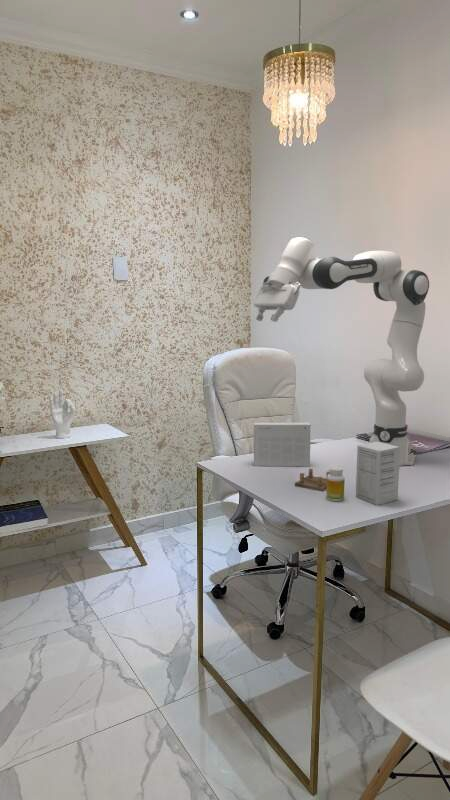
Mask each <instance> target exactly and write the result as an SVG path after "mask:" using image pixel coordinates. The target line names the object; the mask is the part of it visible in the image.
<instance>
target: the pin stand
mask: <svg viewBox="0 0 450 800" xmlns="http://www.w3.org/2000/svg"><path fill="white" fill-rule="evenodd" d="M329 474H330V472H329V471H326V478H324V477H323V476H313V475H314V469H313V468H308V475H307V476H305V473H303V472H301V473H299V480H298V481H295V482H294V486H295V487H299V488H303V489H309V490H314V491H319V492H324V491H327V476H328V475H329Z"/></svg>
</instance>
